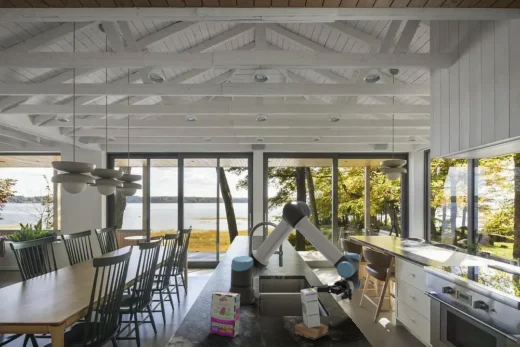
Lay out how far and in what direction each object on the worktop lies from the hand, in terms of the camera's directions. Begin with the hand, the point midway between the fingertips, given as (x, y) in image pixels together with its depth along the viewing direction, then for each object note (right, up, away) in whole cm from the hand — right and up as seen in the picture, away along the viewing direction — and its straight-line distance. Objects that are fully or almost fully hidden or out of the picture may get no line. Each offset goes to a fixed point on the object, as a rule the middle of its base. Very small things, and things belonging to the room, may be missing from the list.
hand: (323, 295), depth 162 cm
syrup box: (-6, -10, -8) cm, 14 cm away
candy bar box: (-43, -12, -12) cm, 46 cm away
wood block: (-6, -14, -9) cm, 18 cm away
